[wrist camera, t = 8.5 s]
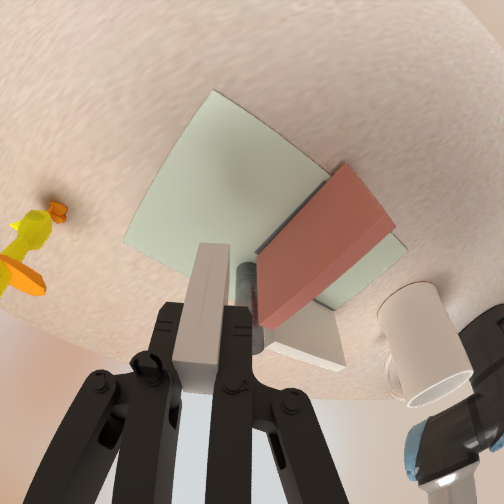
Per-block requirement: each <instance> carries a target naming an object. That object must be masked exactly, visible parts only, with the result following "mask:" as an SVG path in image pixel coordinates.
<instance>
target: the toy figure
mask: <svg viewBox="0 0 504 504" xmlns="http://www.w3.org/2000/svg"><path fill="white" fill-rule="evenodd" d="M66 212H67V208H66V207H65V206H64V205H63V204H61V203H57V202H52V201H51V202H50V208H49V209H48V210H47V211H46V210H37V211H36V210H31V211H30V212H28V213H27V214H26V215H25V217H24V218H23V219H22V220H21V221H18V222H15V223H12V224H10V226H11V227H13V228H14V229H15V230H17V231H18V235H17V238H16V239H15V240H14V241H13V242H12V243H11V244H10V245H9V246H8V247H7V248H6V249H5V250H4V251H3V252H1V253H0V298H1V296H2V295H3V293H4V291H5V290H6V288H7V287H8V285H9V284H10V285H11V286H13V287H15V288H17V289H19V290H21V291H23V292H25V293H27V294H30V295H34V296H42V295H45V292H46V285H45V283H44V281H43V278H42V276H41V275H40V274H39V273H37V272H35V271H34V270H32V269H31V268H29V267H27V266H26V265H24V264H22V261H23V259H24V257H25V255H26V254H27V252H28V251H29V250H38V249H40V248H41V247H42V245H43V244H44V243H45V242H46V240H47V239H48V237H49V236H50V234H51V232H52V220H53V221H54V222H56V223H57V224H58V223H64V222H65V219H66V217H65V216H64V215H63V214H66Z"/></svg>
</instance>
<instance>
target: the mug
mask: <svg viewBox="0 0 504 504" xmlns="http://www.w3.org/2000/svg"><path fill="white" fill-rule="evenodd" d="M377 319H378V323H379V324H380V326H381V327H382V329H383V331H384V334H385V337H386V340H387V342H388V345H389V348H390V350H389V352H388V354H387V357H386V360H385V365H384V381H385V385H386V387H387V390H388V391H389V393H390V394H391V395H392V396H393V397H394V398H396V399H398V400H401V401H405V402H406V405H407V407H409V408H414V407H419V406H423V405H426V404H429V403H432V402H434V401H436V400H438V399H441V398H443V397H444V396H446V395H448V394H450V393H451V392H453V391H455V390H456V389H458V388H459V387H460V386H462V385H463V384H464V383H465V382H466V381H467V380H468V379H469V378H470V377H471V376H472V375H473V372H474V371H473V368H472V366H471V363H470V361H469V359H468V356H467V354H466V351H465V349H464V347H463V345H462V342H461V340H460V338H459V336H458V334H457V332H456V330H455V328H454V325H453V323H452V321H451V319H450V317H449V315H448V313H447V312H446V310H445V308H444V306H443V304H442V302H441V300H440V298H439V295H438V291H437V289H436V287H435V286H434V285H433V284H431V283H428V282H418V283H414V284H411V285H408V286H406V287H404V288H402V289H400V290H398V291H397V292H395V293H394V294H393V295H391V296H390V297H389V298H388V299H387V300H386V301H385V302H384V303H383V305H382V306H381V308H380V310H379V312H378V316H377ZM392 358H393V361H394V364H395V367H396V370H397V374H398V377H399V380H400V384H401V387H402V391H403V394H399V393H397V392H396V391H395V390H394V389H393V388H392V386H391V383H390V379H389V368H390V363H391V360H392Z"/></svg>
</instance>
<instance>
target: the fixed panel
mask: <svg viewBox="0 0 504 504" xmlns="http://www.w3.org/2000/svg"><path fill="white" fill-rule="evenodd" d="M264 339H265V348H266V349H269V350H272V351H275V352H277V353H280V354H283V355H286V356H289V357H291V358H294V359H297V360H300V361H303V362H306V363H309V364H312V365H315V366H318V367H322V368H325V369H328V370H331V371H335V372H338V371H340V370H342V369H344V368H346V362H345V358H344V353H343V349H342V345H341V340H340V336H339V332H338V328H337V324H336V320H335V316H334V312H333V311H332V310H330V309H328V308H326V307H324V306H322V305H320V304H319V303H317V302H315V301H313V300H312V301H310V302H309V303H308V304H307V305H305V306H304V307H303V308H302V309H300V310H299V311H298V312H296V313H295V314H294V315H293V316H291V317H290V318H289V319H287V320H286V321H285V322H284V323H282V324H281V325H280V326H278V327H277V328H276V329H274V330H270V329H268V328H265V327H264Z"/></svg>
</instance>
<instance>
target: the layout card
mask: <svg viewBox="0 0 504 504" xmlns="http://www.w3.org/2000/svg"><path fill="white" fill-rule="evenodd" d="M331 177H332V176H330V175H329V174H328V173H327V172H326V171H324V170H323V169H322V168H321V167H320V166H319V165H317V164H316V163H315V162H314V161H312V160H311V159H310V158H309V157H308V156H306V155H305V154H304V153H303V152H301V151H300V150H299V149H298V148H296V147H295V146H294V145H292V144H291V143H290V142H289V141H287V140H286V139H285V138H283V137H282V136H281V135H279V134H278V133H277V132H275V131H274V130H273V129H271V128H270V127H269V126H267V125H266V124H264V123H263V122H262V121H260V120H259V119H257V118H256V117H255V116H253V115H252V114H250V113H249V112H247V111H246V110H244V109H243V108H241V107H240V106H239V105H237V104H236V103H234V102H233V101H231V100H229V99H228V98H226V97H225V96H223V95H222V94H220V93H219V92H217V91H215V90H214V89H213V91H212V92H211V93H210V95H209V96H208V97H207V99H206V100H205V101H204V103H203V104H202V106H201V107H200V108H199V110H198V111H197V113H196V114H195V116H194V117H193V118H192V120H191V121H190V123H189V124H188V126H187V127H186V129H185V130H184V132H183V133H182V135H181V136H180V138H179V140H178V141H177V143H176V144H175V146H174V147H173V149H172V151H171V152H170V154H169V156H168V157H167V159H166V160H165V162H164V164H163V165H162V167H161V169H160V171H159V172H158V174H157V176H156V177H155V179H154V181H153V183H152V185H151V186H150V188H149V190H148V192H147V194H146V195H145V197H144V199H143V201H142V203H141V205H140V207H139V209H138V210H137V212H136V214H135V216H134V218H133V220H132V222H131V224H130V226H129V228H128V230H127V232H126V234H125V237H124V239H123V241H122V242H123V243H125V244H127V245H128V246H130V247H132V248H134V249H136V250H137V251H139V252H141V253H143V254H145V255H147V256H148V257H150V258H152V259H154V260H156V261H158V262H160V263H162V264H163V265H165V266H167V267H169V268H171V269H173V270H175V271H177V272H179V273H181V274H183V275H185V276H187V277H189V278H190V277H191V273H192V269H193V265H194V261H195V258H196V254H197V250H198V246H199V243H200V242H202V243H223V244H230V284H229V295H228V297H229V298H231V299H233V300H235V284H236V269H237V267H238V265H240V264H241V263H243V262H253V263H256V264H257V260H256V257H257V256H258V255H259V254H260V253H261V252H262V250H263V249H264V248H265V247H266V246H267V245H268V244H269V243H270V242H271V241H272V240H273V239H274V238H275V237H276V236H277V235H278V234H279V232H280V231H281V230H282V229H283V228H284V227H285V226H286V225H287V224H288V223H289V222H290V221H291V220H292V219H293V218H294V217H295V215H296V214H297V213H298V212H299V211H300V210H301V209H302V208H303V207H304V206H305V205H306V204H307V203H308V202H309V201H310V199H311V198H312V197H313V196H314V195H315V194H316V193H317V192H318V191H319V190H320V189H321V188H322V187H323V186H324V185H325V183H326V182H327V181H328V180H329V179H330V178H331ZM407 252H408V250H407V249H406V248H405V247H404V245H403V244H402V243H401V242H400V241H399V240H398V239H397V238H396V237H395V236H394V235H393V234H392V233H391V232H390V233H389V234H388V235H387V236H386V237H385V238H383V239H382V240H381V241H380V242H379V243H378V244H377V245H376V246H375V247H374V248H373V249H371V250H370V251H369V252H368V253H367V254H366V255H365V256H364V257H362V258H361V259H360V260H359V261H358V262H357V263H356V264H355V265H353V266H352V267H351V268H350V269H349V270H348V271H346V272H345V273H344V274H343V275H342V276H341V277H339V278H338V279H337V280H336V281H335V282H334V283H332V284H331V285H330V286H329V287H328V288H326V289H325V290H324V291H323V292H321V293H320V294H319V295H318V296H317V297H315V298H314V299H313V301H315V302H317V303H319V304H320V305H322V306H324V307H326V308H328V309H330V310H332V311H334V310H336V309H337V308H338V307H340V306H341V305H342V304H344V303H345V302H346V301H348V300H349V299H350V298H352V297H353V296H354V295H355V294H357V293H358V292H359V291H361V290H362V289H363V288H364V287H366V286H367V285H368V284H369V283H371V282H372V281H373V280H374V279H376V278H377V277H378V276H379V275H381V274H382V273H383V272H384V271H385V270H387V269H388V268H389V267H390V266H391V265H393V264H394V263H395V262H396V261H397V260H399V259H400V258H401V257H402V256H403V255H404V254H405V253H407Z"/></svg>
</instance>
